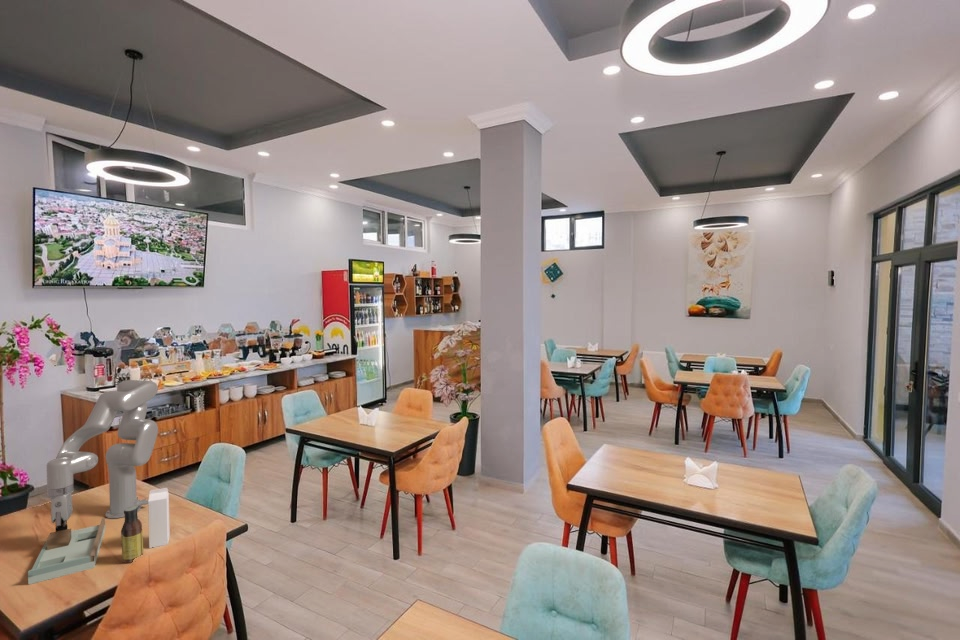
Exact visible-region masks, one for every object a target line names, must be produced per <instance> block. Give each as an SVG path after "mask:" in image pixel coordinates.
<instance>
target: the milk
mask: <svg viewBox="0 0 960 640" xmlns="http://www.w3.org/2000/svg"><path fill="white" fill-rule="evenodd" d="M148 494H149V495H148V499H147V500H148V504H147V505H148V506H147V507H148V548H149V549H153V548H152V547H154V548H158V547H162V546H167V545H169V541H170V535H171V534H170V501H169V500H170V497H169V496H170V494H169V490H168V487H163V488H158V489H151V490H149V493H148Z"/></svg>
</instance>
